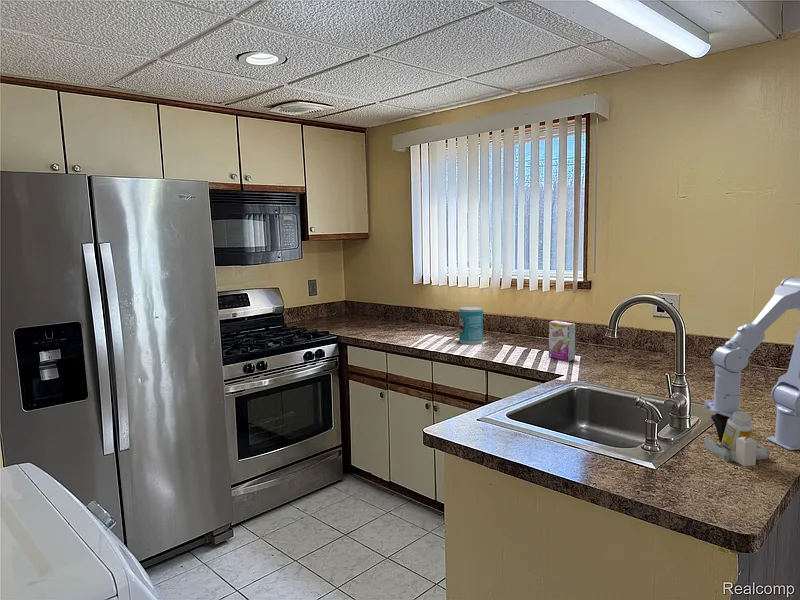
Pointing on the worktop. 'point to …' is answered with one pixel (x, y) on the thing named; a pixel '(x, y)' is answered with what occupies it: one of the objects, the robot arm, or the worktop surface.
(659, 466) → the worktop surface
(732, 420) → the supplement bottle
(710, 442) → the scale bay
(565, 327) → the candy bar box
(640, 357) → the worktop surface
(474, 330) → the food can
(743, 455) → the block
